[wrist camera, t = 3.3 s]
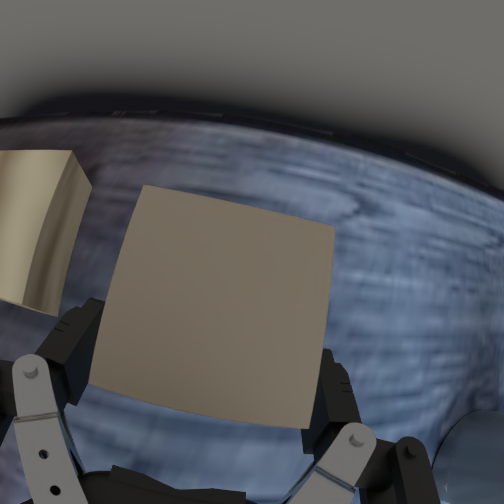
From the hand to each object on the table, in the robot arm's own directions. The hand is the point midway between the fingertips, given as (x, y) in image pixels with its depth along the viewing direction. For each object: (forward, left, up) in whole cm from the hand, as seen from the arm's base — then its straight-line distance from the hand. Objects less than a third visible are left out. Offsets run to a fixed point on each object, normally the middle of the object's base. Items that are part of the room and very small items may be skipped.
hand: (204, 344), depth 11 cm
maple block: (+16, -4, -8) cm, 18 cm away
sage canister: (0, -1, -7) cm, 7 cm away
